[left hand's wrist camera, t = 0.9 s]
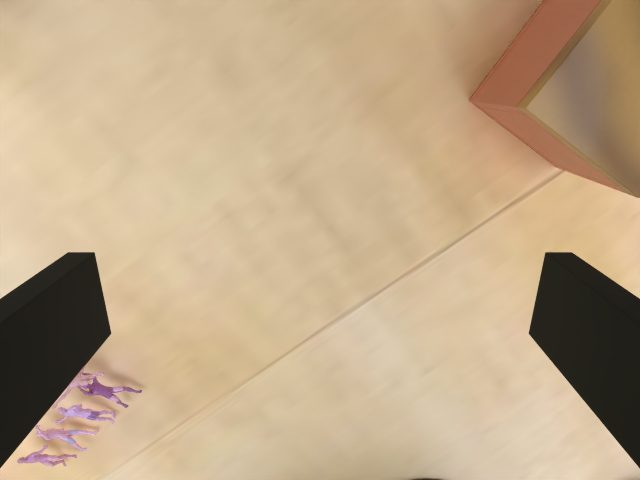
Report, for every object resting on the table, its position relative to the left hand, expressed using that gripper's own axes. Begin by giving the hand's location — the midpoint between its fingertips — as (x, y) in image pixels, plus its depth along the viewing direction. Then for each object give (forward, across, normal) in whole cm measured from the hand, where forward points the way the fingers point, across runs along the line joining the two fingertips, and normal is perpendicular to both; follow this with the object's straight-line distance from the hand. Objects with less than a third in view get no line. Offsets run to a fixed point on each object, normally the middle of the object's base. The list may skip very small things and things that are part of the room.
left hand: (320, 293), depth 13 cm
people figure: (+25, +25, +27) cm, 45 cm away
